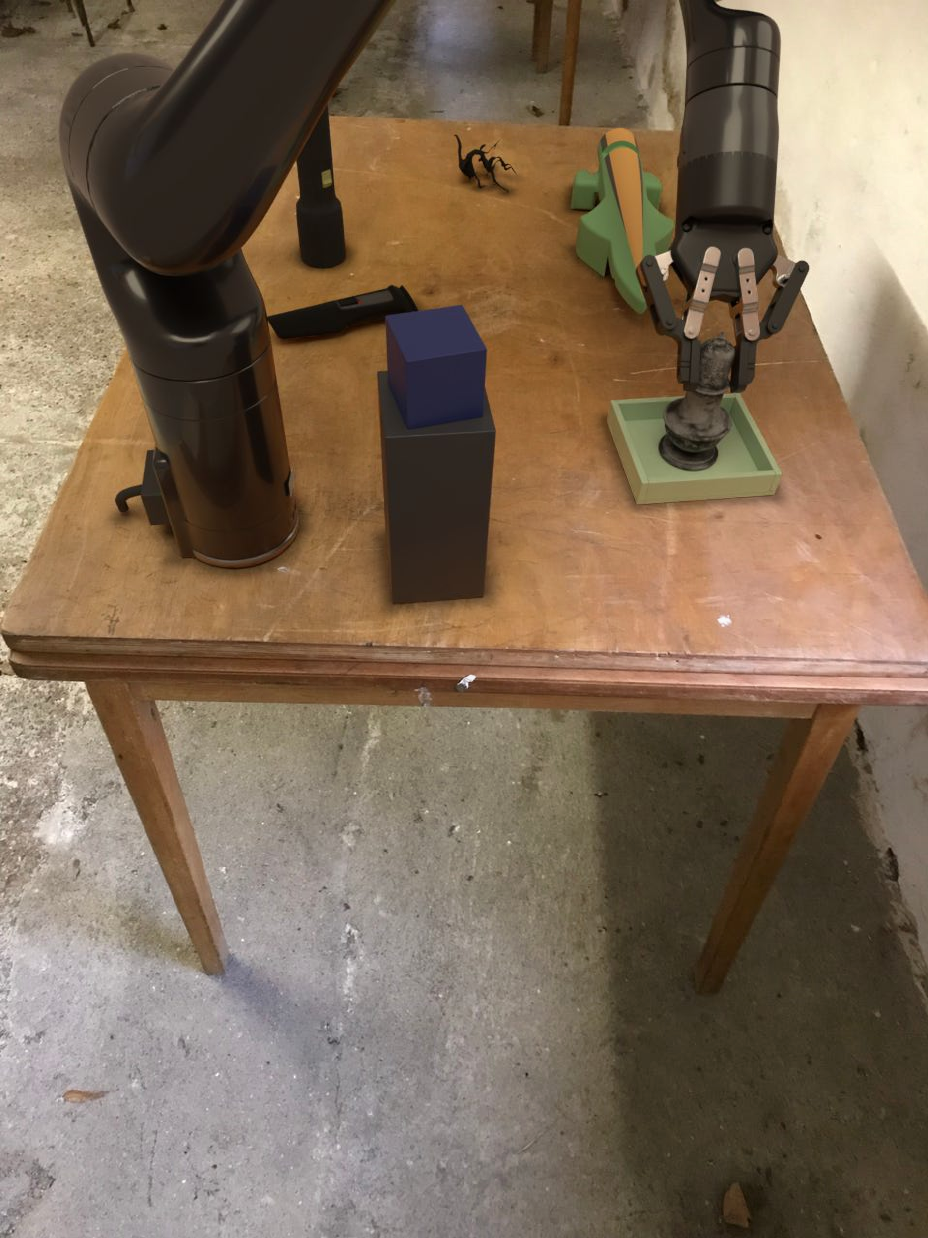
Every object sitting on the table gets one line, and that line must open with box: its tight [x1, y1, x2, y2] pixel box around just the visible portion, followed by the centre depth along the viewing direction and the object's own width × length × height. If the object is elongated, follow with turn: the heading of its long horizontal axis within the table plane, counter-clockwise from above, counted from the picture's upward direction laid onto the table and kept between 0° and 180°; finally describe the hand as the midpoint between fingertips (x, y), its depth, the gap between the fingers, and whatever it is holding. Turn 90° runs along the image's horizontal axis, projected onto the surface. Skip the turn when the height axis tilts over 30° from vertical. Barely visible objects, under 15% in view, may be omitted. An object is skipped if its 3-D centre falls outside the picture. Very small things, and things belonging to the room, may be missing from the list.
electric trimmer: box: [267, 284, 419, 340], centre depth 90 cm, size 4×16×3 cm, turn 115°
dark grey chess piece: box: [659, 331, 735, 470], centre depth 75 cm, size 6×6×12 cm
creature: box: [453, 134, 517, 192], centre depth 111 cm, size 8×5×8 cm
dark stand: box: [376, 370, 497, 605], centre depth 64 cm, size 7×7×16 cm
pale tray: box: [606, 392, 783, 505], centre depth 79 cm, size 12×11×2 cm
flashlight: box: [295, 103, 347, 269], centre depth 91 cm, size 5×24×5 cm
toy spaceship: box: [570, 127, 675, 315], centre depth 99 cm, size 32×10×7 cm, turn 179°
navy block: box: [384, 304, 488, 430], centre depth 56 cm, size 5×5×5 cm
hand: (714, 389), depth 72 cm, fingers closed on dark grey chess piece, 3 cm apart
